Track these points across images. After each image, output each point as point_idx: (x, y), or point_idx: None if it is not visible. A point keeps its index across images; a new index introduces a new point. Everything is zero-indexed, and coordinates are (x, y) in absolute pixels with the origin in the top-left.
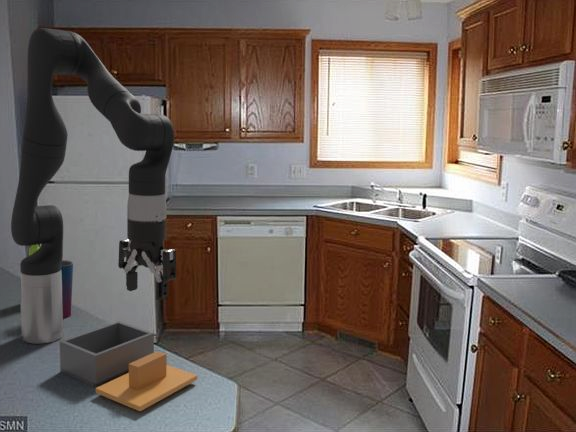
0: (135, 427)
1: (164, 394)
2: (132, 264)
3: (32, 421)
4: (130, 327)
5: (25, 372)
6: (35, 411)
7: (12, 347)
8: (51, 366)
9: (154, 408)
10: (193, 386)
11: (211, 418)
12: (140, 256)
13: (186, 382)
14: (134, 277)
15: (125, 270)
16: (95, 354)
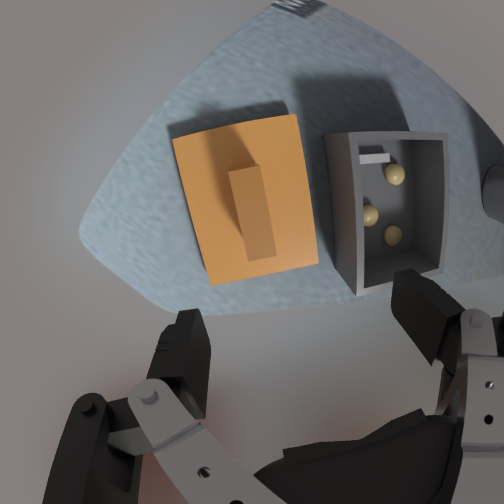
0: (149, 117)
1: (187, 200)
2: (461, 379)
3: (282, 15)
4: None
5: (435, 98)
6: (310, 30)
7: (494, 143)
8: None
9: None
10: None
11: (103, 227)
12: (415, 494)
13: (203, 257)
14: (423, 333)
15: (478, 315)
16: (354, 137)
